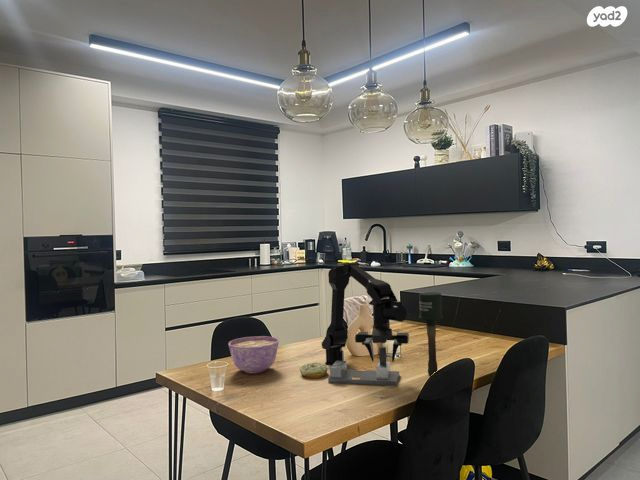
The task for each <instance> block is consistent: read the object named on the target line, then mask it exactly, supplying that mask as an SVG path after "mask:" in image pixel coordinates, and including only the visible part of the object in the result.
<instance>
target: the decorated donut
mask: <svg viewBox="0 0 640 480" xmlns="http://www.w3.org/2000/svg"><path fill="white" fill-rule="evenodd" d="M299 372H300V374H301V376H302V377H305V378H306V379H319V378H323V377H324V376H325V375H326V374H327V373H328V366H327V364H325V363H321V362H309V363H304V364H302V365H301V366H299Z"/></svg>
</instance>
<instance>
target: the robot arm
mask: <svg viewBox="0 0 640 480" xmlns="http://www.w3.org/2000/svg"><path fill="white" fill-rule="evenodd" d="M327 275H328V277H327V278H328V284H329V286H330V287H331V290H332V292H331V309H330V310H331V313H330V316H331V317H330V324H329V326H328V327H327V328H326V332H325V333H326V334H325V337H324V339H323V340H322V342H321V349H323V350H325V362H324V364H325V365H333V364H334V363H335V362H336V361H345V360H344V359H345V357H344V350H343V348H344V347H346V345H347V340H348V338H349V337H348V333H349V329H347V328H346V326H344V310H345V309H344V308H345V293H346V292H345V291H346V289H347V286H348V285H349V283H350V278H352V279H354V280H355V281H356V282H358V284H360V285H361V286H363V287H364V289H366V293H367V295H368V297H370V299H371V300H370V301H369V302H368V305H370V306H372V312H373V313H372V319H373V321H372V322H373V328H372V331H371V334H369V332H368V331H358V332H357V333H356V334H355V337H354V339H355V340H354V342H355V343H357V344H358V343H360V344H361V345H362V346H365V347H366V349H367V352H368V353H369V356H370V358H371V361H372V362H375V355H374V345H373V344H386V343H387V341H393V344H392V353H391V354H392V355H391V360H392V361H391V362H392V363H394V361H395V358H396V354H397V351H398V348H399V347H401V346H402V345H403V344H406V345H407V344H409V341H410V334H409V333H408V332H396V333H397V334H393V329H392V328H390V327H391V324H390V321H393V322H398V323H402V322H404V321H405V320H406V318H407V316H408V312H407V309H406V307H405V305H403V302H402V301H401V300H400V301H398V299H397V296H396V295H395V293H394V291H393V289H392V286H391V285H390V284H389V282H386V281H384V280H382V279H378V278H375V277H373V276H372V275H371V274H370V273H369V272H367V271H366V270H364V269H363V268H362V267H361V266H359V264H358V263H357V262H348V263H347V262H346V263H344V264H342V265H340V266H338V267H332V268H330V269H329V271H328V274H327Z"/></svg>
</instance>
